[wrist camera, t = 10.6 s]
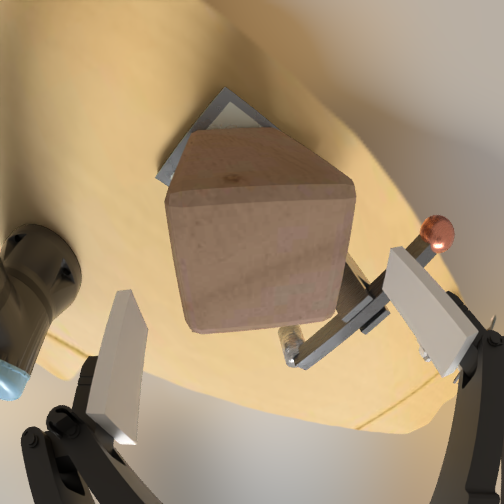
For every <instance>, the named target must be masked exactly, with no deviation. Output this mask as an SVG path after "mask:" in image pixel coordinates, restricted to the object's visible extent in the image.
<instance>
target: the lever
mask: <svg viewBox="0 0 504 504" xmlns="http://www.w3.org/2000/svg"><path fill="white" fill-rule="evenodd" d="M454 235H455V233H454V228H453V225H452V224H451V222H450V221H449V220H448V219H447V218H445V217H444V216H441V215H433V216H430V217H428V218H427V219H426V220H425V221H424V222H423V224H422V226H421V229H420V234H419V235H418V237H417V238H416V239H415V240H414V241H413V242H412V243H411V244H410V245H409V246H408V247H407V248H406V249H405V250H406V251H407V252H408V253H409V254H410V255H411V256H412V257H413V258H414V259H415V260H416V261H417V262H418V263H419V264H420V265H421V266H422V267H423V268H424V267H425V266H426V265H427V264H428V263H429V262H430V260H431V259H432V258H433V257H434V256H435V255H436V254H437V253H442V252H445V251H446V250H448V249H449V248H450V247H451V245H452V243H453V241H454ZM385 274H386V270H385V271H384V272H383V273H382V274H381V275H380V276H378V277H377V278H376V279H375V280H374V281H373V282H372V283H371V284H370V285H369V286H368V287H367V288H366V289H367V290H368V292H369V293H370V295H371V296H372V298H373V300H372V301H371V302H370V303H369V304H368V305H366V306H365V307H364V308H363V309H362V310H361V311H360V312H359V313H358V314H356V315H355V316H354V317H353V318H352V319H351V320H350V321H348V322H347V323H346V322H344V321H343V320H341V318H340V316H339V314H337V315H336V316H335V317H334V318H333V319H332V320H331V321H329V322H328V323H327V324H326V325H325V326H324V327H322V328H321V329H320V330H319V331H318V332H317V333H315V334H314V335H313V336H312V337H311V338H309V339H308V340H307V341H306V342H305V340H304V337H303V334H302V331H301V328H300V326H299V325H291V326H283V327H281V328H280V329H279V331H278V335H279V339H280V342H281V346H282V350H283V353H284V357H285V361H286V364H287V365H288V366H289V367H299V368H302V369H304V370H307V369H309V368H310V367H311V366H313V365H314V364H315V363H317V362H318V361H319V360H320V359H322V358H323V357H324V356H326V355H327V354H328V353H330V352H331V351H332V350H333V349H335V348H336V347H337V346H338V345H340V344H341V343H342V342H343V341H344V340H346V339H347V338H348V337H349V336H351V335H352V334H353V333H354V332H355V331H357V330H358V329H359V328H360V327H361V326H362V325H364V324H365V323H366V322H367V321H368V320H369V319H370V318H372V317H373V316H374V315H375V314H376V313H377V312H378V311H379V310H380V309H382V308H383V307H384V306H385V305H386V304H387V303H388V302H389V301H390V299H389V298H388V296H387V295H386V294H385V292H384V291H383V290H382V288H383V283H384V279H385Z"/></svg>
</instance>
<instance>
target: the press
mask: <svg viewBox="0 0 504 504" xmlns="http://www.w3.org/2000/svg"><path fill="white" fill-rule="evenodd" d="M260 127H273V128H275V129H278V128H277V127H276V126H275V125H273V124H272V123H271V122H270V121H269V120H267V119H266V118H265V117H264V116H262V115H261V114H260V113H259V112H257V111H256V110H255V109H254V108H252V107H251V106H250V105H249V104H247V103H246V102H245V101H243V100H242V99H241V98H240V97H238V96H237V95H236V94H234V93H233V92H232V91H230V90H229V89H228V88H226V87H224V88H223V89H222V90H221V91H220V92H219V94H218V95H217V96H216V97H215V98H214V99H213V101H212V102H211V103H210V104H209V106H208V107H207V108H206V109H205V110H204V112H203V113H202V114H201V115H200V117H199V118H198V119H197V120H196V122H195V123H194V124H193V125H192V127H191V128H190V129H189V131H188V132H187V133H186V135H185V136H184V137H183V139H182V140H181V141H180V143H179V144H178V145H177V147H176V148H175V149H174V151H173V152H172V153H171V155H170V156H169V158H168V159H167V160H166V162H165V163H164V165H163V166H162V168H161V169H160V170H159V172H158V173H157V175H156V177H155V178H156V179H158V180H159V181H161V182H162V183H164V184H165V185H167V186H168V187H169V185H170V183H171V180H172V178H173V175H174V173H175V170H176V168H177V165H178V163H179V160H180V158H181V156H182V153H183V151H184V149H185V146H186V144H187V142H188V139H189V137H190V135H191V133H193V132H195V131H197V130H210V129H228V128H260ZM278 130H279V129H278ZM281 132H282V131H281ZM369 285H370V282H369V281H368V279H367V278H366V277H365V275H364V274H363V272H362V271H361V269H360V268H359V267H358V265H357V264H356V263H355V261H354V260H353V258H352V257H351V256H350V254H349V253H348V252H347V257H346V262H345V267H344V272H343V277H342V282H341V287H340V291H339V296H338V300H337V305H336V310H337V312H338V314H339V316H340V318H341V320H343V321H344V322H346V323H347V322H348V321H350V320H351V319H352V318H353V317H354V316H355V315H356V314H358V313H359V312H360V311H361V310H362V309H363V308H364V307H365V306H366V305H368V304H369V303H370V302H371V301H372V300H373V298H372V296H371V295H370V293H369V292H368V290H367V289H366V288H367V287H368V286H369ZM389 314H390V311H389V310H388V308H387V307H386V305H385V306H384V307H383V308H382V309H380V310H379V311H378V312H377V313H376V314H375V315H374V316H373V317H372V318H370V319H369V320H368V321H367V322H366V323H365V324H364V325H362V326H361V327H360V330H361V332H362V333H364V334H367V333H368V332H370V331H371V330H372V329H373V328H374V327H375V326H377V325H378V324H379V323H380V322H381V321H382V320H383V319H385V318H386V317H387V316H388V315H389Z"/></svg>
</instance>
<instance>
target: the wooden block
mask: <svg viewBox="0 0 504 504" xmlns="http://www.w3.org/2000/svg"><path fill="white" fill-rule="evenodd" d="M164 202H165V209H166V216H167V223H168V230H169V236H170V242H171V248H172V254H173V260H174V266H175V271H176V277H177V282H178V287H179V292H180V297H181V302H182V307H183V312H184V317H185V320H186V322H187V324H188V326H189V327H190V329H191V330H192V332H195V333H199V334H211V333H224V332H236V331H247V330H257V329H266V328H275V327H283V326H291V325H299V324H307V323H314V322H321V321H325V320H326V319H328V318H330V317H331V316H332V315H333V314H334V312H335V309H336V305H337V300H338V296H339V291H340V287H341V282H342V277H343V272H344V267H345V262H346V257H347V251H348V246H349V240H350V235H351V229H352V222H353V216H354V210H355V203H356V192H355V186H354V183H353V181H352V179H350V178H349V177H348V176H346V175H345V174H344V173H342V172H341V171H339V170H338V169H337V168H335V167H334V166H332V165H331V164H330V163H328V162H327V161H325V160H324V159H322V158H321V157H320V156H318V155H317V154H315V153H314V152H312V151H311V150H309V149H308V148H306V147H305V146H303V145H302V144H300V143H299V142H297V141H296V140H294V139H292V138H291V137H289V136H288V135H286V134H285V133H283V132H281V131H280V130H278V129H275V128H273V127H260V128H228V129H210V130H197V131H195V132H193V133H191V135H190V137H189V139H188V142H187V144H186V146H185V149H184V151H183V153H182V156H181V158H180V160H179V163H178V165H177V168H176V170H175V173H174V175H173V178H172V180H171V183H170V185H169V188H168V191H167V195H166V198H165V201H164Z"/></svg>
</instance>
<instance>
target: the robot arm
mask: <svg viewBox="0 0 504 504" xmlns="http://www.w3.org/2000/svg"><path fill="white" fill-rule="evenodd" d="M80 286H81V271H80V267H79V264H78V261H77V259H76V257H75V255H74V253H73V252H72V250H71V249H70V247H69V246H68V245H67V244H66V242H65V241H64V240H63V239H62V238H61V237H59V236H58V235H57V234H56V233H54V232H53V231H51V230H49V229H47V228H45V227H43V226H39V225H34V224H28V225H23V226H20V227H18V228H17V229H16V230H14V231H13V232H12V233H11V234H10V236H9V237H8V238H7V239H6V240H5V242H4V244H3V246H2V249H1V251H0V399H2V400H7V401H12V400H16V399H18V398H19V397H20V396H21V394H22V393H23V390H24V388H25V385H26V383H27V381H28V380H29V379H30V375H31V372H32V370H33V367H34V364H35V361H36V359H37V356H38V354H39V351H40V348H41V346H42V343H43V341H44V339H45V336H46V334H47V331H48V329H49V327H50V325H51V322H52V321H53V320H54V319H55V318H56V317H58V316H59V315H60V314H61V313H62V312H63V311H64V310H66V309H67V308H68V307H69V306H70V305H71V304H72V303H73V301H74V300H75V298H76V296H77V294H78V292H79V289H80ZM382 290H383V291H384V292H385V294H386V295H387V296H388V298H389V299H390V301H391V302H392V303H393V305H394V306H395V308H396V309H397V310H398V312H399V313H400V315H401V316H402V317H403V319H404V320H405V322H406V323H407V325H408V326H409V328H410V329H411V330H412V332H413V333H414V335H415V336H416V338H417V339H418V341H419V342H420V344H421V345H422V347H423V348H424V350H425V351H426V353H427V354H428V356H429V358H430V359H431V361H432V362H433V364H434V365H435V367H436V369H437V370H438V372H439V373H440V375H441V377H442V378H443V377H445V376H447V375H449V374H451V373H453V372H454V371H455V370H456V368H457V367H458V365H459V364H460V366H461V367H462V369H461V371H460V372H459V373H458V375H457V376H456V378H455V379H454V382H453V383H456V381H457V380H458V379H459V383H458V392H457V399H456V406H455V412H454V417H453V423H452V428H451V432H450V437H449V442H448V446H447V450H446V454H445V458H444V461H443V465H442V469H441V472H440V476H439V478H438V482H437V485H436V488H435V491H434V494H433V496H432V499H431V502H430V504H499V503H500V497H499V495H498V494H497V493H495V485H496V481H497V476H498V471H499V466H500V460H501V474H502V475H501V480H502V481H501V504H504V336H501V335H500V334H499V333H498V332H495V331H493V330H488V331H486V329H485V328H484V327H483V326H482V325H481V323H480V322H479V321H478V320H477V319H476V318H475V316H474V315H473V314H472V313H471V311H470V310H468V308H467V307H466V306H465V305H464V303H463V302H462V301H461V300H460V299H459V298H458V297H457V296H456V295H454V294H453V293H451V292H450V291H447V292H445V291H444V290H443V289H442V288H441V286H440V285H439V284H438V283H437V282H436V281H435V280H434V279H433V278H432V277H431V276H430V274H429V273H428V272H427V271H426V270H425V269H424V268H423V267H422V266H421V265H420V264H419V263H418V262H417V261H416V260H415V259H414V258H413V257H412V256H411V255H410V254H409V253H408V252H407V251H406V250H405V249H404V248H403V247H402V246H400V247H395V248H391V249H390V254H389V259H388V264H387V269H386V274H385V279H384V283H383V288H382ZM147 334H148V328H147V326H146V323H145V321H144V319H143V317H142V314H141V312H140V310H139V307H138V305H137V303H136V300H135V298H134V295H133V293H132V290H131V289H130V290H123V291H117V293H116V296H115V299H114V302H113V305H112V309H111V312H110V315H109V319H108V322H107V325H106V329H105V333H104V336H103V340H102V344H101V347H100V351H99V355H98V356H89V357H88V358H87V360H86V361H85V363H84V364H83V366H82V369H81V373H80V378H79V380H78V386H77V389H76V393H75V397H74V402H73V407H72V409H71V408H70V407H67V406H65V405H59V406H57V407H54V408H53V409H52V410H51V411H50V412H49V414H48V416H47V420H46V425H47V429H48V430H49V431H45V432H43V431H42V430H40V429H39V428H37V427H29V428H27V429H26V430H25V431H24V433H23V434H22V437H21V446H22V453H23V458H24V463H25V468H26V473H27V477H28V481H29V485H30V489H31V492H32V496H33V499H34V503H35V504H95V502H94V500H93V498H92V495H91V493H90V490H91V492H92V493H93V494H94V496H95V497H96V499H97V500H98V502H99V503H100V504H163V503H162V502H161V501H160V500H159V499H158V498H157V497H156V496H155V495H154V494H153V493H152V492H151V491H150V490H149V488H148V487H147V486H146V485H145V484H144V483H143V482H142V481H141V479H140V478H139V477H138V476H137V475H136V474H135V472H134V471H133V470H132V469H131V468H130V466H129V465H128V464H127V463H126V461H125V460H124V459H123V458H122V456H121V455H120V454H119V452H118V451H117V450H116V448H114V447H113V442H114V439H115V440H116V441H117V442H118V443H120V444H135V445H136V444H137V430H138V414H139V402H140V392H141V382H142V373H143V364H144V356H145V348H146V341H147ZM88 487H89V488H88ZM89 489H90V490H89Z"/></svg>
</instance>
